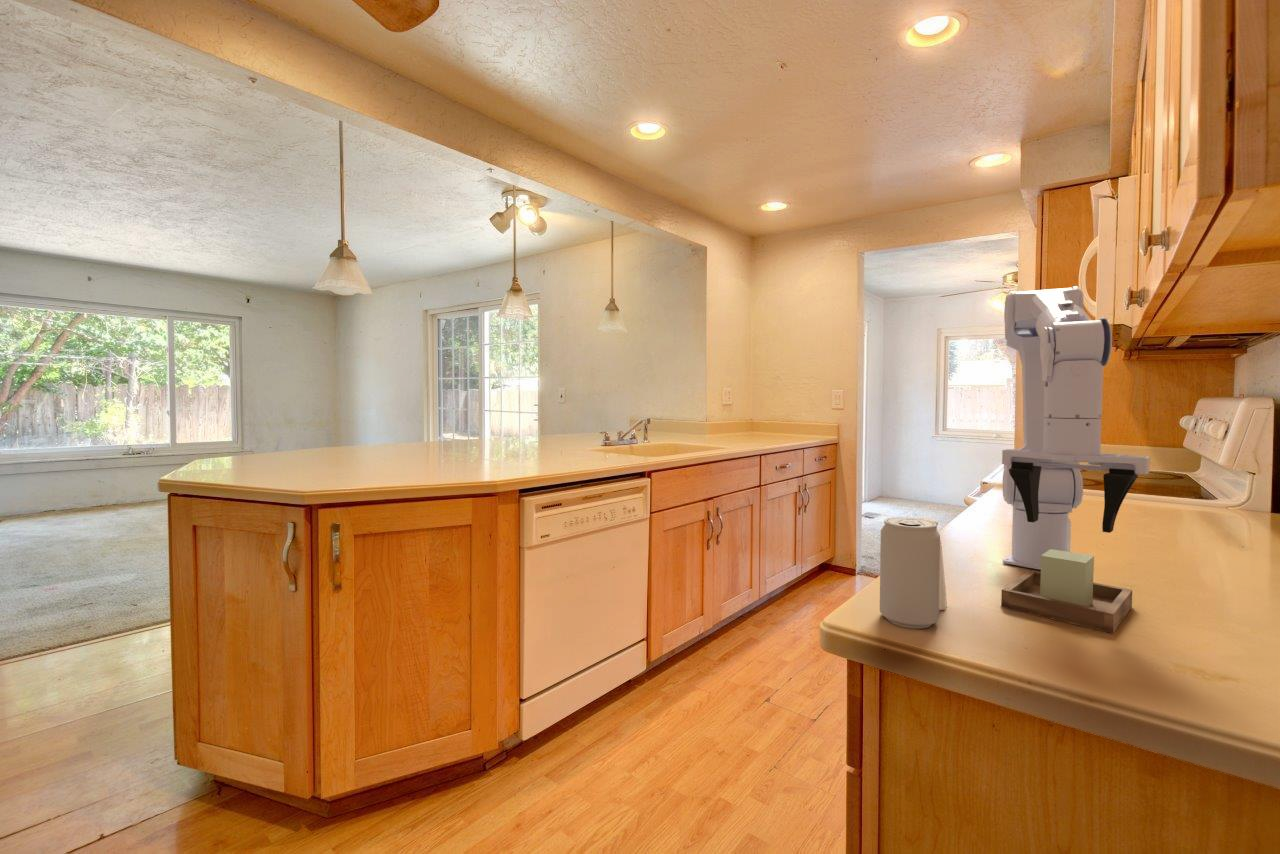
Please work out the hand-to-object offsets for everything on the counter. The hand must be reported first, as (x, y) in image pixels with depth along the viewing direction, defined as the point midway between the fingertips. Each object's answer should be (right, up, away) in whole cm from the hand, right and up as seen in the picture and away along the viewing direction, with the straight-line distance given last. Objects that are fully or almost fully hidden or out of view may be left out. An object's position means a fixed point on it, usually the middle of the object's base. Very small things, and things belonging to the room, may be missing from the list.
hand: (1068, 525), depth 71 cm
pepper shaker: (-17, -11, +2) cm, 20 cm away
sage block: (0, -10, 0) cm, 10 cm away
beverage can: (-22, -11, -3) cm, 25 cm away
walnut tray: (0, -10, +1) cm, 10 cm away
